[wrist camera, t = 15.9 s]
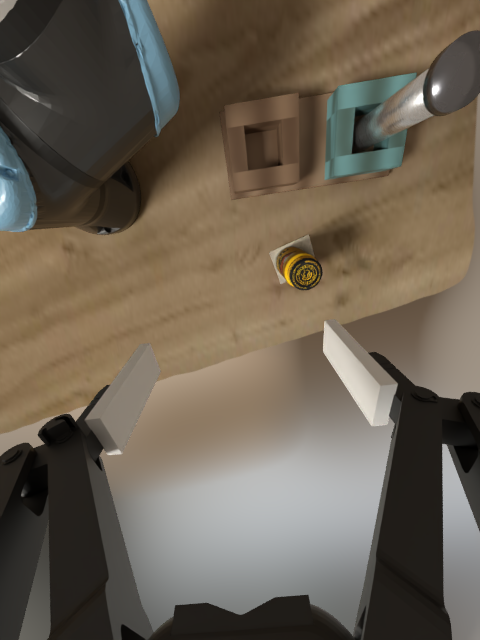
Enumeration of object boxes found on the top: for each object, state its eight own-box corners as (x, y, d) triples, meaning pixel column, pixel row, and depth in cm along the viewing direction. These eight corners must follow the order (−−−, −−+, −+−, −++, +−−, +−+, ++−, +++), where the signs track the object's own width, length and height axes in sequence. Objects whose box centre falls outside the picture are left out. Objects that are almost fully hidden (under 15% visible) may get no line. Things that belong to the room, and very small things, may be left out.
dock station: (231, 199, 39) (230, 197, 35) (220, 114, 34) (217, 99, 29) (384, 176, 38) (405, 170, 34) (397, 85, 33) (424, 63, 28)
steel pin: (340, 158, 36) (426, 115, 20) (343, 120, 34) (442, 36, 18) (370, 154, 36) (481, 105, 20) (375, 115, 34) (504, 25, 18)
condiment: (268, 252, 44) (280, 264, 33) (308, 234, 42) (333, 240, 32) (280, 283, 47) (294, 303, 36) (317, 267, 45) (343, 283, 35)
